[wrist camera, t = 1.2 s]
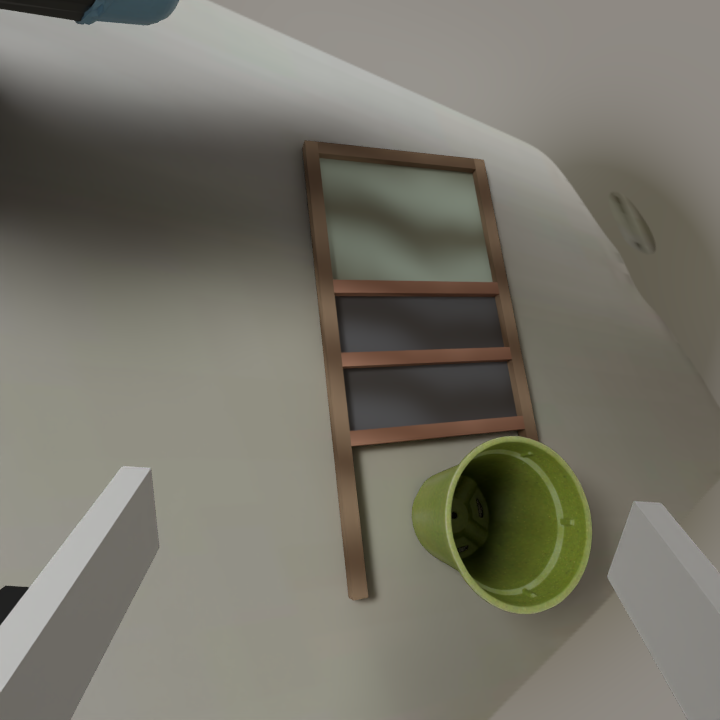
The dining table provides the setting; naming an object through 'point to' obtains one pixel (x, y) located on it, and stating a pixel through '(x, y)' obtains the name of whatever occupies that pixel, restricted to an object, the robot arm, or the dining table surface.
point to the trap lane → (409, 309)
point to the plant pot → (509, 523)
